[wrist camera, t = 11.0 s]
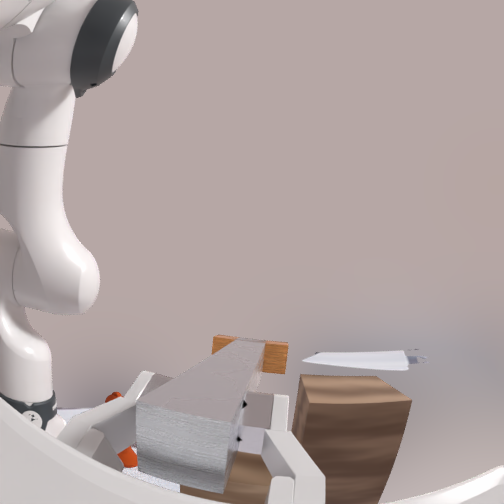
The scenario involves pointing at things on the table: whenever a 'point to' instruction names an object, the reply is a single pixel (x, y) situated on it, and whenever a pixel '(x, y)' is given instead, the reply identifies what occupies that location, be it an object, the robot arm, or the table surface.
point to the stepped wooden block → (332, 441)
